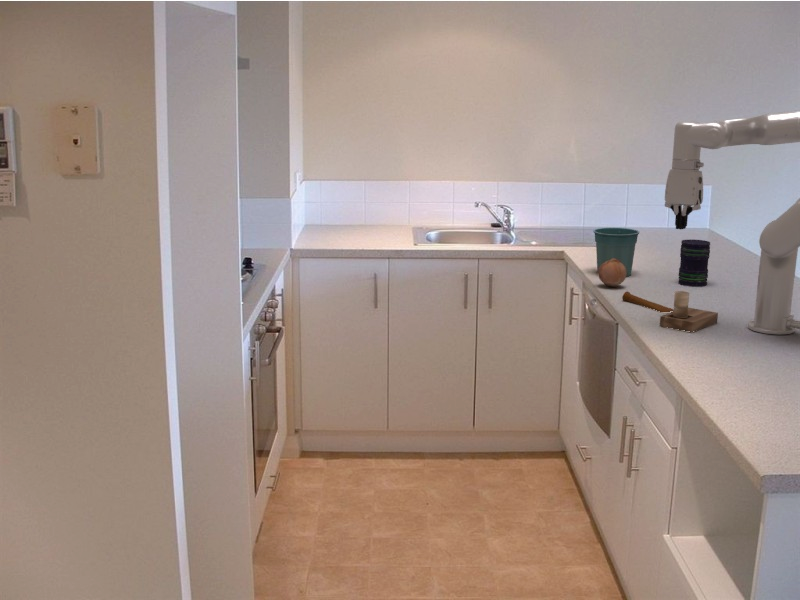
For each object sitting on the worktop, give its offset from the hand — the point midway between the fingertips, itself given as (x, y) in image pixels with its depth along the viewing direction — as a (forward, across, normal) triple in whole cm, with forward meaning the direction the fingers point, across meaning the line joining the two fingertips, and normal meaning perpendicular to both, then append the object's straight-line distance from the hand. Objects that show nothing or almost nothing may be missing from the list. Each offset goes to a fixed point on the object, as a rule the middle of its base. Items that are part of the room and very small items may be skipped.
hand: (680, 228), depth 276 cm
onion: (+27, +36, -26) cm, 52 cm away
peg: (+27, -6, +8) cm, 29 cm away
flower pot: (+27, +47, -46) cm, 72 cm away
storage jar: (+27, +19, -51) cm, 61 cm away
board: (+27, -6, +4) cm, 28 cm away
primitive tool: (+28, +13, -9) cm, 32 cm away
